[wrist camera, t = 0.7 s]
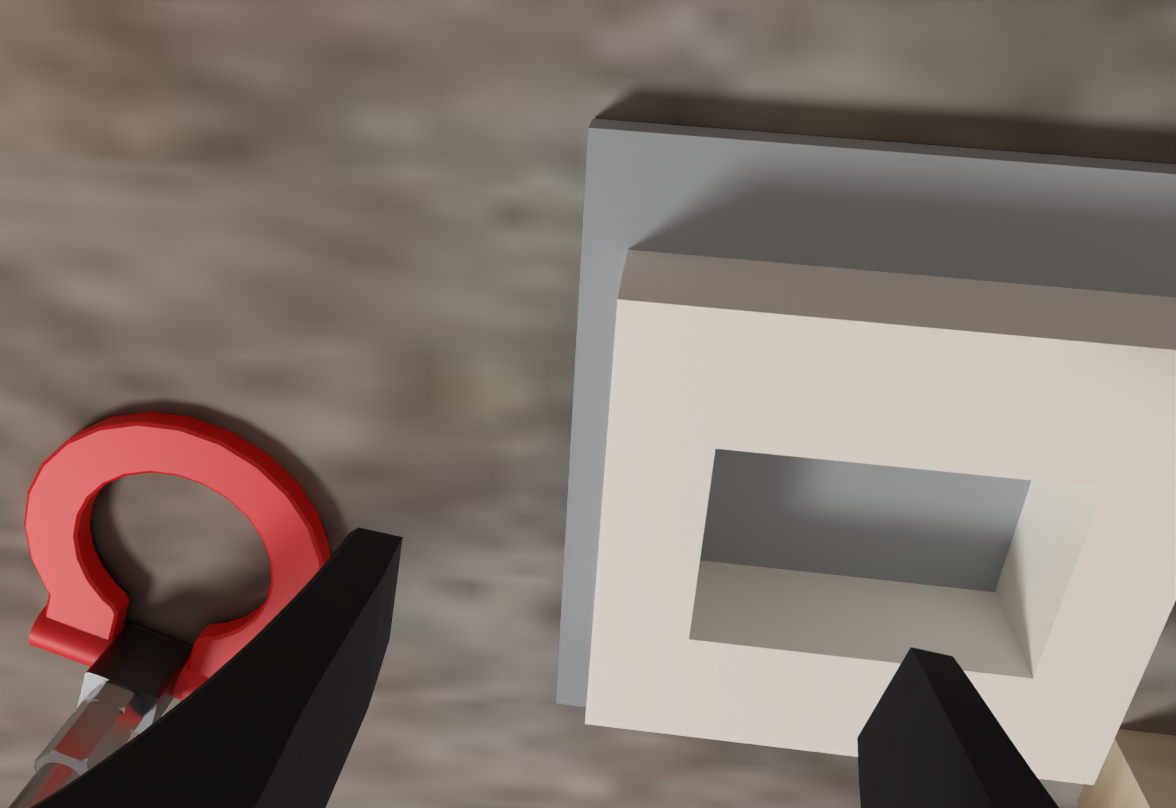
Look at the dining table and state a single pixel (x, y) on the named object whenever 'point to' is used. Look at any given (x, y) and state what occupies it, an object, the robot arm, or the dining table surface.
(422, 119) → the dining table surface
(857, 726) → the slotted block
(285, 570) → the tow hook
